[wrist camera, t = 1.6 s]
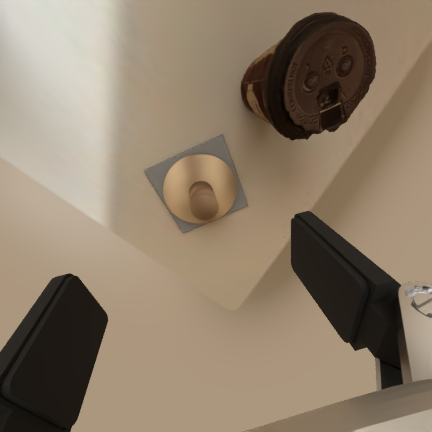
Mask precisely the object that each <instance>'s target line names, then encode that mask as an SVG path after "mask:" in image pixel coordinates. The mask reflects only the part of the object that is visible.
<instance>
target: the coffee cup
mask: <svg viewBox="0 0 432 432" xmlns="http://www.w3.org/2000/svg"><path fill="white" fill-rule="evenodd" d="M375 66H376V57H375V50H374V45H373V41H372V39H371V37H370V35H369V33H368V31H367V30H366V29H365V28H363V27H362V26H361V25H359V24H358V23H357V22H354V21H352V20H350V19H348V18H346V17H344V16H341V15H337V14H336V13H333V12H326V13H325V12H323V13H314V14H312V15H310V16H308V17H305V18H304V19H302V20H300V21H298V22H297V23H296V24H295V25H294V26H293V27H292V28H291V29H290V31H289V32H288V33H287V35H286V36H285V37H284V38H283V39H282V40H281V41H279V42H278V43H277V44H276V45H274V46H272V47H271V48H270V49H268V50H267V51H266V52H265V53H263V54H262V55H261V56H260V57H259V58H257V59H256V60H255V61H254V62H253V63H252V64H251V65H250V66H249V67H248V69H247V71H246V72H245V74H244V76H243V80H242V82H241V93H242V99H243V102H244V103H245V105H246V106H247V107H248V108H249V109H250V110H251V111H252V112H254V113H255V114H257V115H258V116H259V117H260V118H262V119H264V120H265V121H266V122H269V123H270V124H272V125H273V126H274V128H275V129H276V130H277V131H278V132H279V133H280V134H282V135H283V136H284V137H287V138H290V139H291V140H295V139H298V140H299V139H306V140H307V139H308V138H309V137H310V136H311V135H312V134H320V133H321V132H323V131H324V130H325V129H326V130H328V131H329V132H334V131H336V130H337V129H338V128H339V126H340V125H341V124H343V123H345V122H347V120H348V118H349V117H350V115H351V114H352V112H353V111H354V110H355V108H356V107H357V105H358V104H359V102H360V101H361V100H362V99H363V98H364V96H365V95H366V93H367V92H368V90H369V86H370V84H371V83H372V81H373V79H374V78H375V73H376V69H375Z"/></svg>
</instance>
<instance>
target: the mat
mask: <svg viewBox="0 0 432 432" xmlns="http://www.w3.org/2000/svg"><path fill="white" fill-rule="evenodd" d="M197 153H204V154H210V155H213V156H216V157H218V158H220V159H221V160H223V161H224V162H225V163H226V164H227V165H228V166H229V167H230V169H231V170H232V172H233V174H234V176H235V178H236V182H237V194H236V198H235V201H234V203H233V205H232V207H231V208H230V209H229V210H228V211H227V212H226V213H225V214H224V215H226V214H229V213H231V212H233V211H236V210H238V209H240V208H243V207H245V206H247V205H248V204H247V201H246V198H245V196H244V193H243V190H242V187H241V184H240V182H239V179H238V176H237V173H236V170H235V168H234V165H233V162H232V159H231V156H230V154H229V151H228V148H227V145H226V142H225V140H224V137H223V135H220V136H218V137H216V138H214V139H212V140H209V141H207V142H205V143H203V144H201V145H199V146H196V147H194V148H192V149H190V150H188V151H185V152H183V153H181V154H179V155H177V156H175V157H172V158H170V159H168V160H166V161H164V162H161V163H159V164H157V165H155V166H153V167H151V168H148V169H146V170H144V172H145V174H146V176H147V177H148V179H149V180H150V182H151V183H152V185H153V187H154V188H155V190H156V191H157V193H158V195H159V196H160V198H161V199H162V201H163V203H164V204H165V206H166V207H167V209H168V210H169V212H170V214H171V215H172V217H173V218H174V220H175V222H176V223H177V225H178V226H179V228H180V230H181V231H182V233H185V232H187V231H189V230H192V229H194V228H196V227H199V226H201V225H203V224H206V223H190V222H187V221H184V220H182V219H180V218H178V217H177V216H176V215H174V214H173V213H172V212H171V211H170V209H169V208H168V206H167V204H166V202H165V199H164V195H163V186H164V180H165V177H166V174H167V173H168V171H169V169H170V168H171V167H172V165H173V164H175V163H176V162H177V161H178V160H180V159H181V158H183V157H185V156H188V155H191V154H197ZM224 215H223V216H224Z"/></svg>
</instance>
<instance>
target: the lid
mask: <svg viewBox="0 0 432 432" xmlns="http://www.w3.org/2000/svg"><path fill="white" fill-rule="evenodd" d="M236 194H237V182H236V178H235V176H234V174H233V172H232V170H231V169H230V167H229V166H228V165H227V164H226V163H225V162H224V161H223V160H221V159H220V158H218V157H216V156H213V155H210V154H204V153H197V154H191V155H188V156H185V157H183V158H181V159H180V160H178V161H177V162H176V163H175V164H173V165H172V167H171V168H170V169H169V171H168V173H167V174H166V177H165V180H164V186H163V195H164V199H165V202H166V204H167V206H168V208H169V209H170V211H171V212H172V213H173V214H174V215H176V216H177V217H178V218H180V219H182V220H184V221H187V222H190V223H208V222H211V221H214V220H216V219H218V218H220V217H222V216H223V215H224V214H225V213H226V212H227V211H228V210H229V209H230V208H231V207H232V205H233V203H234V201H235V198H236Z"/></svg>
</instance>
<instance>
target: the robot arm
mask: <svg viewBox="0 0 432 432" xmlns="http://www.w3.org/2000/svg"><path fill="white" fill-rule="evenodd" d="M291 265H292V268H293V270H294V272H295V273H296V274H297V276H298V277H299V279H300V280H301V281H302V283H303V284H304V286H305V287H306V289H307V290H308V292H309V293H310V294H311V296H312V297H313V299H314V300H315V301H316V303H317V304H318V306H319V307H320V309H321V310H322V311H323V313H324V314H325V316H326V317H327V318H328V320H329V321H330V323H331V324H332V326H333V327H334V329H335V330H336V331H337V333H338V334H339V335H340V337H341V338H342V339H343V341H344V342H346V343H348V342H349V343H350V344H351V346H352V347H353V348H354V350H355V351H356V350H359V349H363V348H366V347H367V348H368V349H369V350H370V352H371V353H372V354H373V356H374V357H375V362H376V381H377V391H376V392H372V393H369V394H365V395H362V396H358V397H355V398H351V399H348V400H344V401H341V402H338V403H334V404H331V405H328V406H324V407H321V408H318V409H315V410H312V411H308V412H305V413H302V414H299V415H296V416H292V417H289V418H286V419H283V420H280V421H276V422H273V423H270V424H267V425H264V426H260V427H257V428H254V429H251V430H248V431H244V432H432V284H429V283H425V282H408V283H405V284H403V285H400V284H399V283H398V282H397V281H395V280H394V279H393V278H392V277H391V276H390V275H388V274H387V273H386V272H385V271H383V270H382V269H381V268H379V267H378V266H377V265H376V264H375V263H373V262H372V261H371V260H370V259H368V258H367V257H366V256H365V255H363V254H362V253H361V252H360V251H359V250H357V249H356V248H355V247H354V246H352V245H351V244H350V243H349V242H347V241H346V240H345V239H344V238H343V237H341V236H340V235H339V234H337V233H336V232H335V231H334V230H333V229H331V228H330V227H329V226H328V225H326V224H325V223H324V222H323V221H322V220H320V219H319V218H318V217H317V216H315V215H314V214H313V213H311V212H310V211H306V212H302V213H298V214H296V215H295V216H294V218H292V220H291ZM107 322H108V316H107V314H106V312H105V311H104V310H103V308H102V307H101V306H100V304H99V303H98V302H97V301H96V299H95V298H94V297H93V296H92V294H91V293H90V292H89V291H88V289H87V288H86V286H85V285H84V284H83V283H82V281H81V280H80V279H79V278H78V277H77V276H74V275H73V274H66V275H62V276H58V277H55V278H53V279H52V280H51V281H50V282H49V284H48V285H47V287H46V288H45V289H44V291H43V292H42V294H41V295H40V296H39V298H38V299H37V301H36V302H35V304H34V305H33V306H32V308H31V309H30V311H29V312H28V314H27V315H26V317H25V318H24V319H23V321H22V322H21V324H20V325H19V326H18V328H17V329H16V331H15V332H14V334H13V335H12V336H11V338H10V339H9V341H8V342H7V343H6V345H5V346H4V348H3V349H2V350H1V352H0V432H70V431H71V428H72V426H73V425H74V424H75V422H76V421H77V418H78V416H79V413H80V409H81V406H82V403H83V400H84V396H85V393H86V390H87V387H88V384H89V380H90V377H91V374H92V371H93V368H94V364H95V361H96V358H97V355H98V351H99V348H100V345H101V342H102V339H103V335H104V332H105V329H106V325H107Z"/></svg>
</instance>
